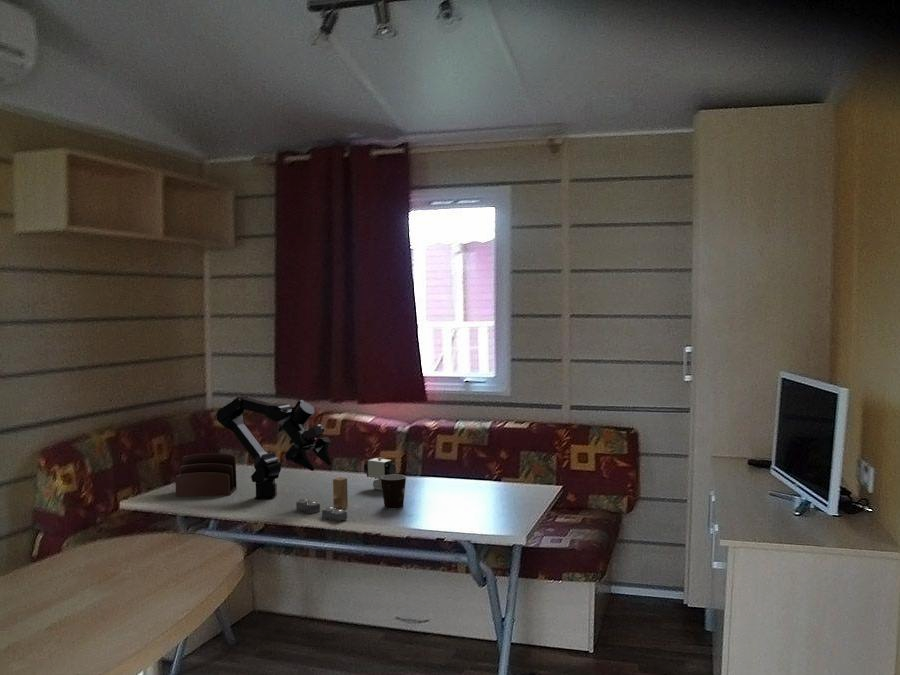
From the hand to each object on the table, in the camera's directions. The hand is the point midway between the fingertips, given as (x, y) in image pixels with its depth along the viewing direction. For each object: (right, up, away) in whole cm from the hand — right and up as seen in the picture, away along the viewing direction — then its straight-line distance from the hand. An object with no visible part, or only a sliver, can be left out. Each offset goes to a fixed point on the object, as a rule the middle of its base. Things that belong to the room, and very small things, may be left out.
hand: (322, 467), depth 270 cm
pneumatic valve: (+18, -12, +23) cm, 32 cm away
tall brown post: (+7, -13, -3) cm, 15 cm away
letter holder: (-46, -13, +22) cm, 53 cm away
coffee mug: (+24, -13, -3) cm, 27 cm away
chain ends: (+1, -14, -11) cm, 18 cm away
